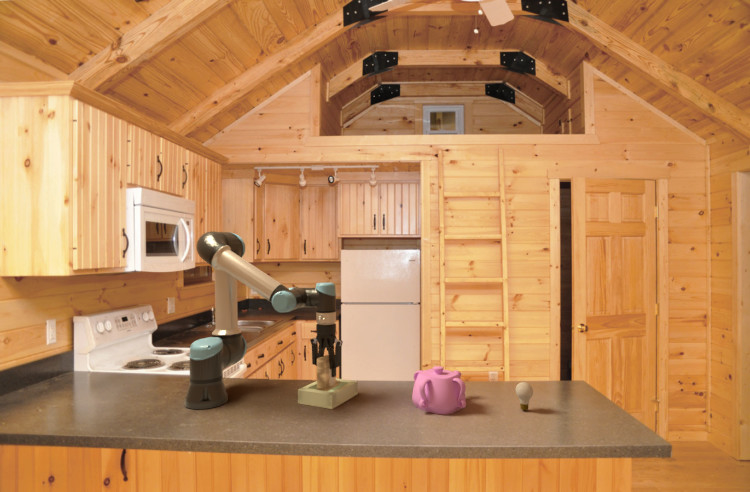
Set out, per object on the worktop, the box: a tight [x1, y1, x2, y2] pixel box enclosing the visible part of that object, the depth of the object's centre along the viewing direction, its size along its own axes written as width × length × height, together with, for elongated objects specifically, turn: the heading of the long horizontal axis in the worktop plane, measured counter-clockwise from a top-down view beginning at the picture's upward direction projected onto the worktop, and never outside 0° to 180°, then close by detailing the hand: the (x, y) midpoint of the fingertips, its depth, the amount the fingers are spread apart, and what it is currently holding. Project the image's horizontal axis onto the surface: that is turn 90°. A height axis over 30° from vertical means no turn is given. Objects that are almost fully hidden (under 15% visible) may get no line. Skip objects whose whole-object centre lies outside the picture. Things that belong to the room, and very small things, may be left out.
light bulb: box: [515, 381, 534, 412], centre depth 156 cm, size 6×6×10 cm
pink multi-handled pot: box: [411, 365, 467, 416], centre depth 163 cm, size 19×21×14 cm
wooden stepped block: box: [316, 354, 340, 391], centre depth 171 cm, size 4×10×12 cm, turn 153°
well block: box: [297, 377, 359, 410], centre depth 171 cm, size 15×19×5 cm
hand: (326, 384), depth 170 cm, fingers closed on wooden stepped block, 4 cm apart
